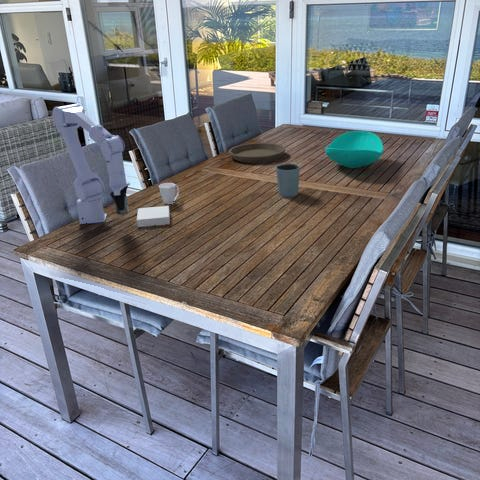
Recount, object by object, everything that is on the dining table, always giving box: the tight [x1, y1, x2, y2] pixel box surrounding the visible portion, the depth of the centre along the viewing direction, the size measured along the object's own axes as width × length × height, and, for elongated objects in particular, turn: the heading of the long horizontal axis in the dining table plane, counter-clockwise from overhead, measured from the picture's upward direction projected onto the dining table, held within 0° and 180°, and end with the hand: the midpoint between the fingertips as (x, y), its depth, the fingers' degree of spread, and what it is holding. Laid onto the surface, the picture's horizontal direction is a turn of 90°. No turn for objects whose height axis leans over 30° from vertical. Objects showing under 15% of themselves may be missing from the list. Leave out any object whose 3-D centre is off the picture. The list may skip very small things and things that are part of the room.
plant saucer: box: [228, 142, 286, 164], centre depth 262 cm, size 31×31×5 cm
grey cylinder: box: [114, 195, 130, 216], centre depth 173 cm, size 4×4×6 cm
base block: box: [136, 205, 171, 228], centre depth 185 cm, size 12×12×3 cm
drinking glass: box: [275, 163, 301, 198], centre depth 204 cm, size 10×10×12 cm
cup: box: [158, 182, 180, 205], centre depth 201 cm, size 7×10×8 cm
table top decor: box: [324, 130, 384, 169], centre depth 236 cm, size 40×28×13 cm
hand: (122, 207), depth 173 cm, fingers closed on grey cylinder, 4 cm apart
